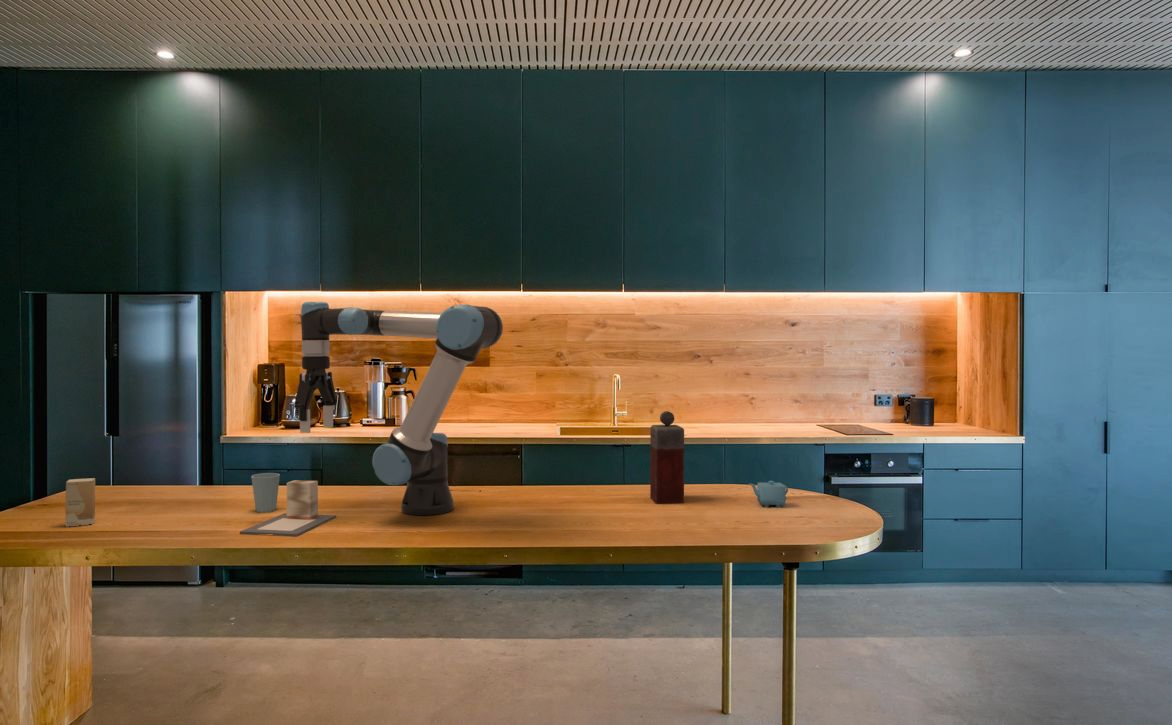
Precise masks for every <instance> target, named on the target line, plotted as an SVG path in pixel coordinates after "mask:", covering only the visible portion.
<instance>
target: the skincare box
mask: <svg viewBox="0 0 1172 725" xmlns="http://www.w3.org/2000/svg"><path fill="white" fill-rule="evenodd" d="M95 522H96V478H95V477H93V478H74V479H68V480H67V481H66V482H65V527H67V528H69V526H70V527H79V525H81V526H90V525H89V524H92V525H93V524H94V523H95Z"/></svg>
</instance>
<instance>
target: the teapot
mask: <svg viewBox="0 0 1172 725" xmlns="http://www.w3.org/2000/svg"><path fill="white" fill-rule="evenodd" d="M748 485H750V486H751V487H752V489H753V492H754V495H755V496H756V497H757V502H758V503H759V504H760V505H762V506H763V508H770V506H775V507H776V508H781V507H782V506H786V501H787V496H786V495H788V492H789V488H788V486H787V485H785V484H783V483H781V482H775V481H774V480H768V482H757V487H756V485H755V484H754V483H748Z"/></svg>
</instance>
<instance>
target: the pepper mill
mask: <svg viewBox="0 0 1172 725" xmlns="http://www.w3.org/2000/svg"><path fill="white" fill-rule="evenodd" d="M659 420H660V422H661V423H662V424H652V425H650V434H649V435H650V441H649V442H650V444H649V445H650V446H649V447H650V448H649V449H650V451H649V452H650V462H649V463H650V466H649V467H650V470H649V471H650V473H649V474H650V475H649V476H650V481H649V482H650V489H649V492H650V494H649V495H650V500H651V501H652V502H653V503H654V504H656V505H669V504H671V505H672V504H675V505H676V504H685V429H684V427H682V426H680V425H678V424H673V423H674V421H675V415H674V414H673V412H672V411H669V410H664V411H663V412H661V413H660V416H659Z"/></svg>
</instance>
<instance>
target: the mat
mask: <svg viewBox="0 0 1172 725" xmlns="http://www.w3.org/2000/svg"><path fill="white" fill-rule="evenodd" d="M334 519H337V515H333V514H329V515H328V514H318V517H316V518H313V519H311V520H304V519H287V512H285V513H282V514H279V515H277V516H275V517H272V518H269V519H267V520H265V521H262V522H260V523H259V522H258V524H254V525H253V526H249V527H248V528H245V529H242V530H240V531H239V534H240V535H256V534H273V535H272V536H278V535H284V536H285V537H299V536H301V535H304V533H307V532H309V531H311V530H313V529H316V528H318V527H319V525H320V526H322V525H323V524H327V523H328V522H331V521H332V520H334ZM321 524H322V525H321ZM317 526H318V527H317ZM315 527H316V528H315ZM284 536H283V537H284Z"/></svg>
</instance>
